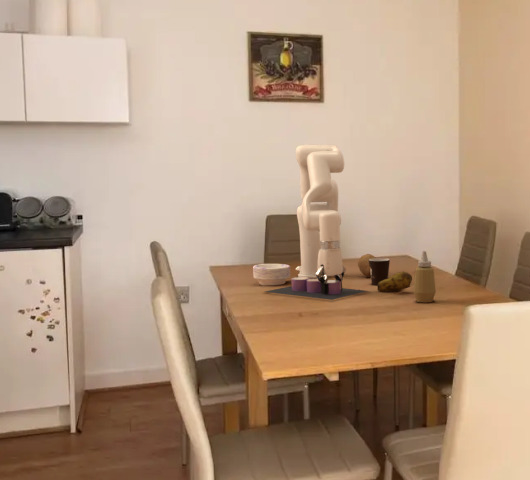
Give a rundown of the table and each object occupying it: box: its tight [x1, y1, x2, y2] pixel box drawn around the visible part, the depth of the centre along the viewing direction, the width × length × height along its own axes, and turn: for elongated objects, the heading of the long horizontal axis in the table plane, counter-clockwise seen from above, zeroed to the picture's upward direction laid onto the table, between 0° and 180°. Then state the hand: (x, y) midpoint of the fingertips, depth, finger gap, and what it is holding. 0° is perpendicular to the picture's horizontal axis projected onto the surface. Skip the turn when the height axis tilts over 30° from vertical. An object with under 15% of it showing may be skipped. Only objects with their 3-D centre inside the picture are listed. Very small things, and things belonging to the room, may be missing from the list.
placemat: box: [264, 285, 368, 301], centre depth 299 cm, size 34×22×1 cm, turn 55°
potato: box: [377, 271, 413, 293], centre depth 296 cm, size 8×13×8 cm, turn 72°
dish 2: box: [326, 279, 342, 295], centre depth 294 cm, size 7×7×4 cm
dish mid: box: [306, 278, 321, 293], centre depth 298 cm, size 7×7×4 cm
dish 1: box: [290, 276, 311, 291], centre depth 302 cm, size 7×7×4 cm
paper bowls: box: [252, 263, 291, 286], centre depth 319 cm, size 15×15×8 cm
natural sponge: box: [357, 253, 377, 278], centre depth 336 cm, size 9×9×10 cm
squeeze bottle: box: [413, 250, 437, 304], centre depth 275 cm, size 8×8×18 cm
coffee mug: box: [369, 257, 391, 286], centre depth 318 cm, size 12×9×10 cm
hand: (331, 291), depth 294 cm, fingers closed on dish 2, 7 cm apart
